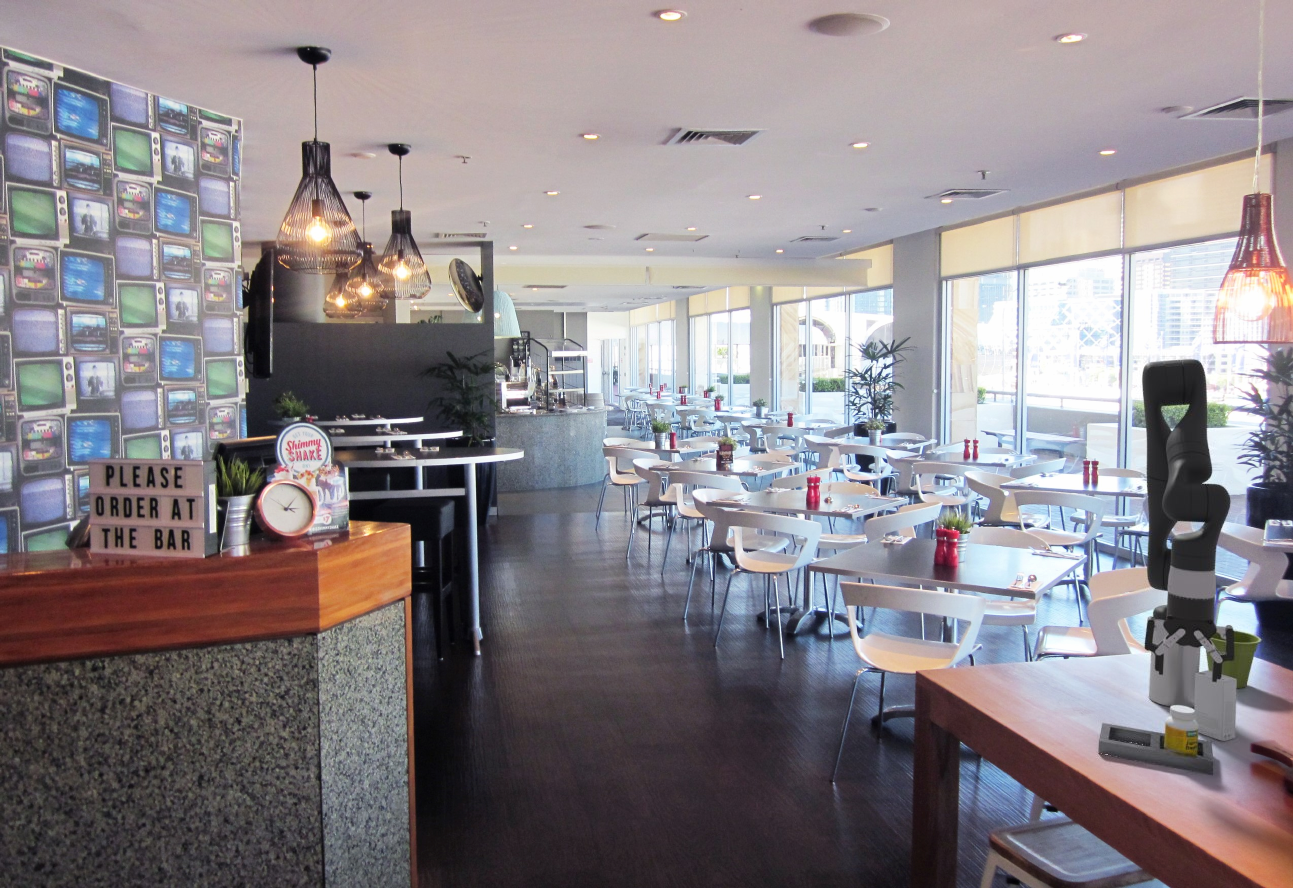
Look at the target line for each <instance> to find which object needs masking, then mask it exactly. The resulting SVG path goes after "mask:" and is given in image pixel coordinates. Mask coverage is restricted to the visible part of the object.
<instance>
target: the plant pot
mask: <svg viewBox="0 0 1293 888" xmlns="http://www.w3.org/2000/svg"><path fill="white" fill-rule="evenodd" d="M1233 630H1234V629H1233ZM1210 640H1211V641H1212V643H1213V644H1214V646H1215V647H1216V648H1217V650H1218V651H1219V652H1220V653H1223V652H1226V639H1223V638H1221V635H1220V634H1219V633H1217V632H1216V634H1215V635H1214V636H1213V637H1212V638H1211V639H1210ZM1261 642H1262V639H1261V638H1260V637H1259V636H1257V635H1255V634H1252V633H1249V632H1245V631H1240V630H1234V660H1233V661H1225V662H1223V663H1222V675H1225V676H1228V677H1232V678H1235V679H1237V686H1236V689H1242V688H1245V687H1247V685H1248V683H1249V682H1248V680H1249V677H1250V673H1251V669H1252V665H1253V661H1254V657H1255V653H1256V652H1257V649H1258V645H1259V644H1260V643H1261ZM1205 654H1206V655H1205V656H1206V663H1207V668H1208V669H1207V670H1209V671H1212V665H1213V658H1212V656H1211V655H1210V654H1209V653H1208V652H1207V650H1206V649H1205Z"/></svg>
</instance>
